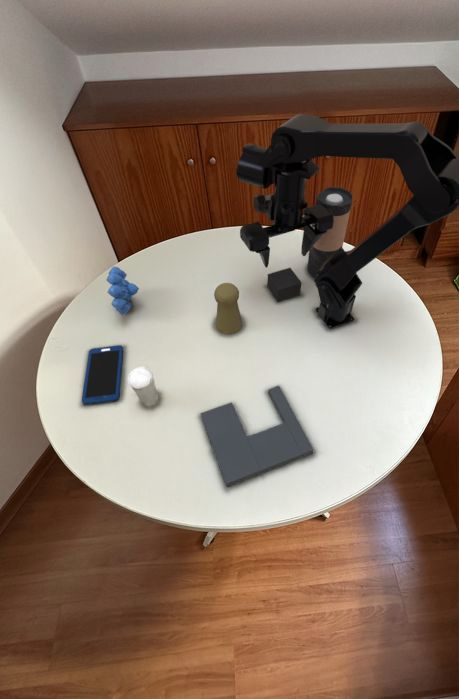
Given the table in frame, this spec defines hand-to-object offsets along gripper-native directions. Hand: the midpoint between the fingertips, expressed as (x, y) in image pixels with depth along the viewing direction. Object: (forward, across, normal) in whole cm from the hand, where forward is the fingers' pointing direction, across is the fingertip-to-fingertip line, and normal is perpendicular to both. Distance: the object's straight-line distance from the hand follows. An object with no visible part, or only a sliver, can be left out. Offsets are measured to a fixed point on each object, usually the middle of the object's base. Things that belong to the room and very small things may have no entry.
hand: (284, 260), depth 82 cm
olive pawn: (+10, +16, +4) cm, 19 cm away
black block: (+10, -1, 0) cm, 10 cm away
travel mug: (+10, -13, -3) cm, 16 cm away
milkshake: (+10, +37, +17) cm, 42 cm away
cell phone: (+10, +45, +7) cm, 46 cm away
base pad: (+10, +21, +31) cm, 39 cm away
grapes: (+10, +35, -10) cm, 38 cm away
